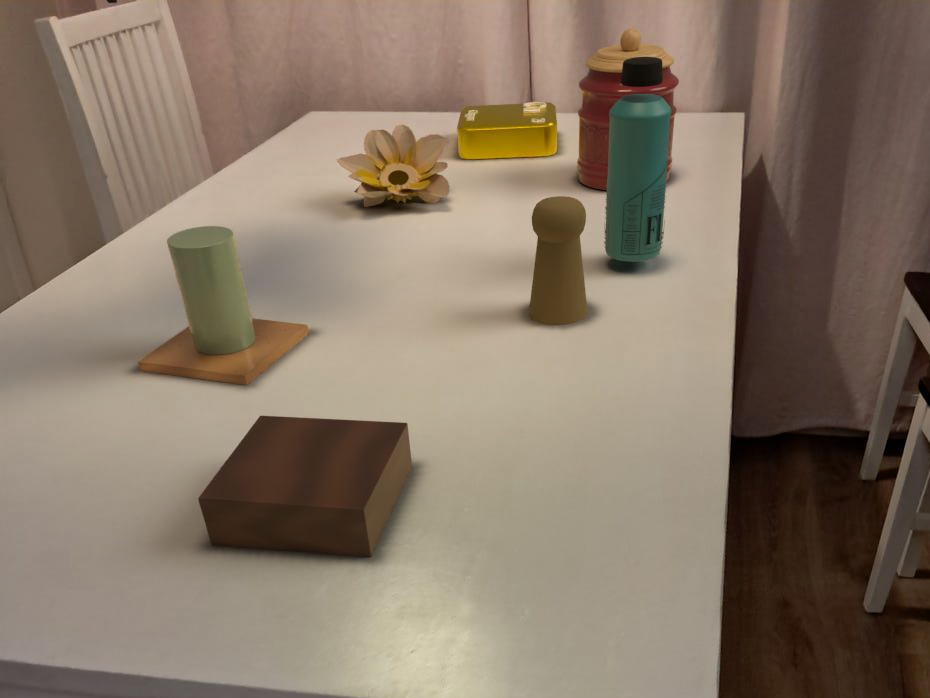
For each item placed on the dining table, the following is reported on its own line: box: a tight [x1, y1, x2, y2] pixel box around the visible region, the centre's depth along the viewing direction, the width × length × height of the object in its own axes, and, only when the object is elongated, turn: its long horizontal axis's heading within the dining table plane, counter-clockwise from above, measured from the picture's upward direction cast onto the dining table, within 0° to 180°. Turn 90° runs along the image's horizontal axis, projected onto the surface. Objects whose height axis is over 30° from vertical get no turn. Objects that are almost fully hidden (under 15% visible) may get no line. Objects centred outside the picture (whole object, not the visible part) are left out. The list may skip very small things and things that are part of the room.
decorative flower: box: [336, 123, 450, 208], centre depth 121 cm, size 15×11×10 cm
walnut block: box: [197, 415, 413, 558], centre depth 68 cm, size 12×12×4 cm
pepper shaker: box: [528, 195, 588, 326], centre depth 91 cm, size 6×6×11 cm
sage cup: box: [166, 225, 256, 355], centre depth 87 cm, size 6×6×10 cm
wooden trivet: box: [137, 317, 310, 386], centre depth 91 cm, size 12×12×1 cm
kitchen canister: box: [576, 28, 680, 191], centre depth 122 cm, size 13×13×18 cm
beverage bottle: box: [603, 57, 671, 262], centre depth 97 cm, size 6×7×20 cm
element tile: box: [456, 101, 558, 161], centre depth 143 cm, size 15×15×5 cm
